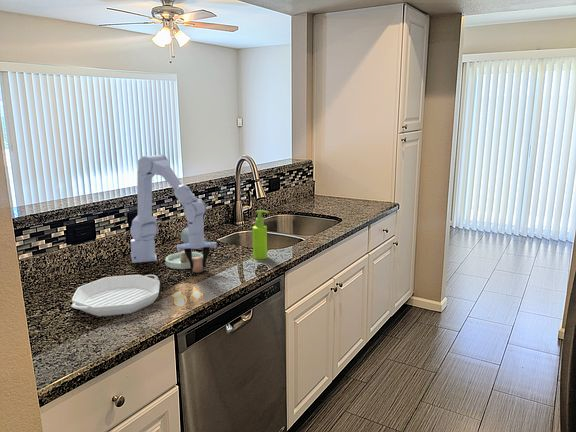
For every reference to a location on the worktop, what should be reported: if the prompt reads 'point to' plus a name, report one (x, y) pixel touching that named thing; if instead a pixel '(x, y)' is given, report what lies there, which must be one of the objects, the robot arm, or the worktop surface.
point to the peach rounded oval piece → (197, 264)
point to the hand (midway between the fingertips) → (197, 267)
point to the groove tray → (175, 262)
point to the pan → (116, 295)
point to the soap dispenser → (260, 237)
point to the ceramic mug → (186, 236)
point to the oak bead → (183, 257)
